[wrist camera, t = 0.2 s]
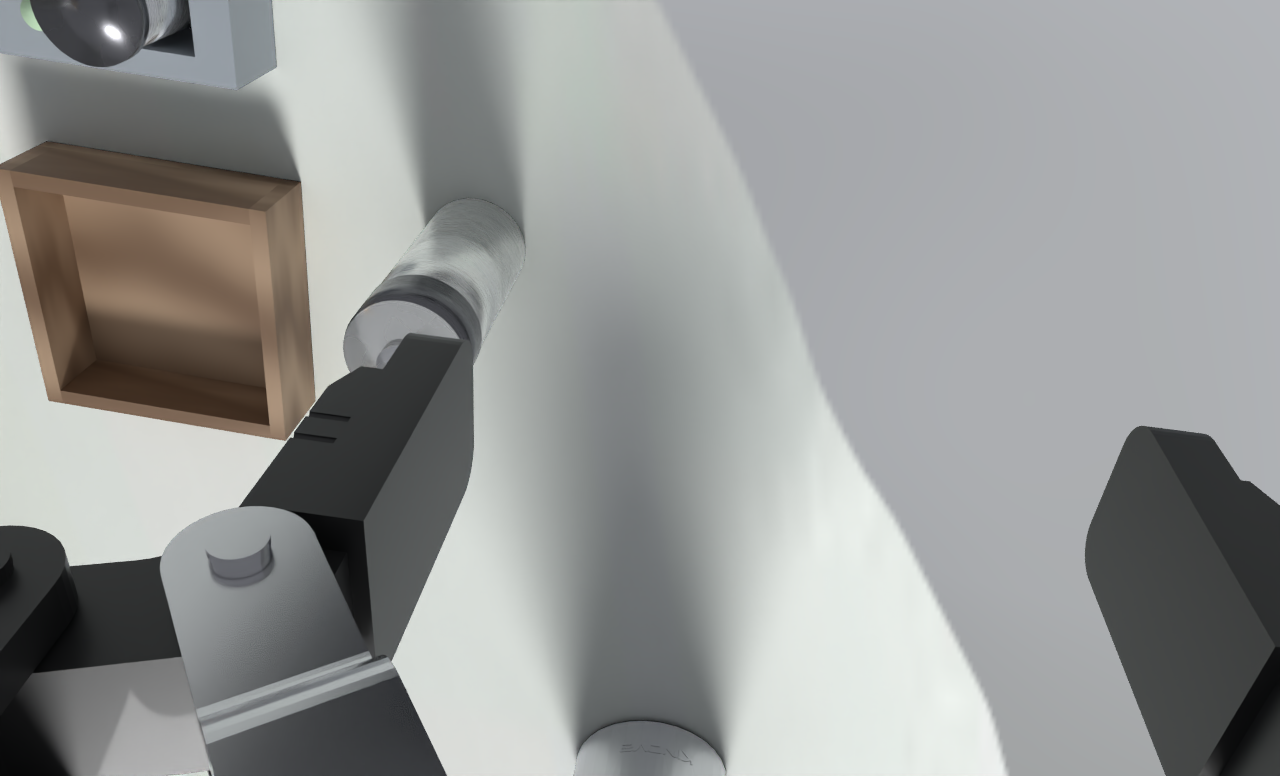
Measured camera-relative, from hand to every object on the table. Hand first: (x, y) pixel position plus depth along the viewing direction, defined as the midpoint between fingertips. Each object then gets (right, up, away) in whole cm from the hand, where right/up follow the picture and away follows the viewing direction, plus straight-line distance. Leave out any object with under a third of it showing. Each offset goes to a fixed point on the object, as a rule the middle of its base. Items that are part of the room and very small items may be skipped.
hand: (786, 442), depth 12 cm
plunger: (-20, +16, +25) cm, 36 cm away
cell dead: (-9, +7, +31) cm, 33 cm away
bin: (-23, +6, +34) cm, 41 cm away
